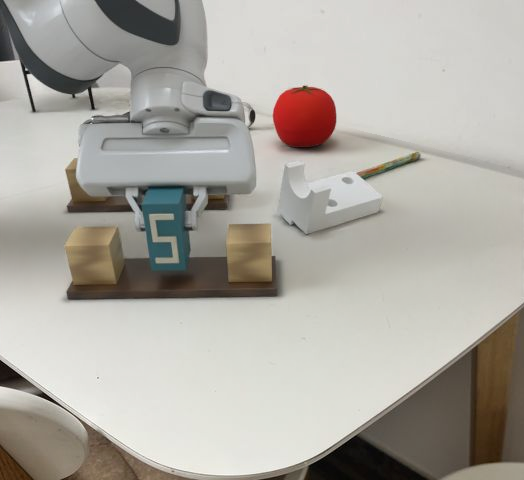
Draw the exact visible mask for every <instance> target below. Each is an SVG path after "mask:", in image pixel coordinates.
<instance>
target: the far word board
mask: <svg viewBox="0 0 524 480" xmlns="http://www.w3.org/2000/svg"><path fill="white" fill-rule="evenodd" d="M77 160H78V157H73V159H72V160H71V161H70V163H69V164H68V165H67V166H66V168H65V169H64V171H65V175H66V180H67V183H68V188H69V192H70V196H71V197H70V198H71V199H70V200H69V202H68V203H67V205H66V209H67V213H87V212H91V213H92V212H93V213H94V212H96V213H97V212H134V211H133V209H132V207H131V205H130V204H129V202H128V200H127V198H126V196H90V195H88V194H87V193H86V192H85V191H84V190H83V189H82V188H81V186H80V185H79V183H78V182H77V179H76V168H77ZM144 197H145V196H142V202H143V200H144ZM185 198H186V207H187V211H191V209H192V207H193V205H194V204H195V202H196V201H195V198H194V195H185ZM229 198H230V195H208V204H207V205H206V207H205V208H204V210H205V211H206V210H228V205H229V200H230V199H229ZM141 204H142V203H141ZM141 204H138V203H137V205H138V207H139V209H140V211H141V212H143V211H142V205H141ZM204 210H203V211H204Z"/></svg>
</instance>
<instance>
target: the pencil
mask: <svg viewBox="0 0 524 480" xmlns="http://www.w3.org/2000/svg"><path fill="white" fill-rule="evenodd" d="M421 157H422V155H421V152H419V151H415V152H413V153H410V154H407V155H403V156H401V157H399V158H395V159H393V160H390V161H387V162H384V163H381V164H378V165H376V166H373V167H372V166H371V167H369V168H367V169H364V170H361V171H358V172H355V173H356V174H357V175H359V176H360V177H361V178H362V179H364V178H365V179H366V178H368V177H371V176H374V175H377V174H379V173H382V172H385V171H387V170H390V169H394V168H396V167H398V166H399V167H400V166H402V165H404V164H407V163H411V162H414V161H417V160H419V159H420V158H421Z"/></svg>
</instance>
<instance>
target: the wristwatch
mask: <svg viewBox="0 0 524 480" xmlns="http://www.w3.org/2000/svg"><path fill="white" fill-rule="evenodd" d="M242 104H243V107H245V108H246V109H247V112H248V117H247V118H248V122H249V124H248V125H247V127H248V128H250V127H251V126H253V125H254V123H255V122H256V111H255V109H254V108H253V107H252V105H251V104H249V103H248V102H245V101H244V102H243V101H242Z"/></svg>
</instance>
